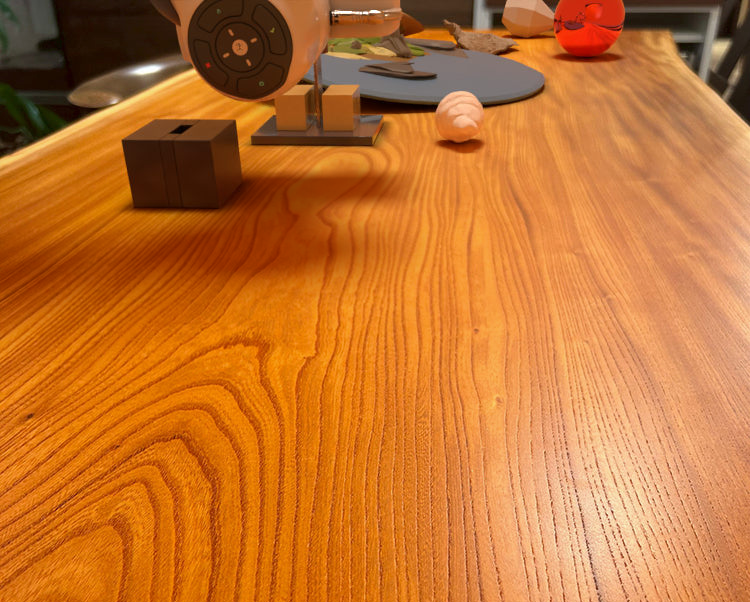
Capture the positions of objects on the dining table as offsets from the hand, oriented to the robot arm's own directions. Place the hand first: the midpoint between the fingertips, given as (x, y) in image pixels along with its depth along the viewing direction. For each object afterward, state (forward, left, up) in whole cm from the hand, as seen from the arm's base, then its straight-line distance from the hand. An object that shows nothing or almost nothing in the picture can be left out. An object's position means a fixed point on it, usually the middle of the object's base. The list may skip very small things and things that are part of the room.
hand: (299, 3), depth 76 cm
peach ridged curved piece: (+16, +5, -15) cm, 23 cm away
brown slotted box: (-9, -14, -15) cm, 22 cm away
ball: (+36, +67, -15) cm, 78 cm away
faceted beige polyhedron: (+31, +94, -15) cm, 100 cm away
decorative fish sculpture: (-1, +80, -15) cm, 81 cm away
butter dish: (-1, +10, -15) cm, 18 cm away
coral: (+17, +76, -15) cm, 79 cm away
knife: (0, +10, -14) cm, 17 cm away
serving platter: (+5, +42, -15) cm, 45 cm away
